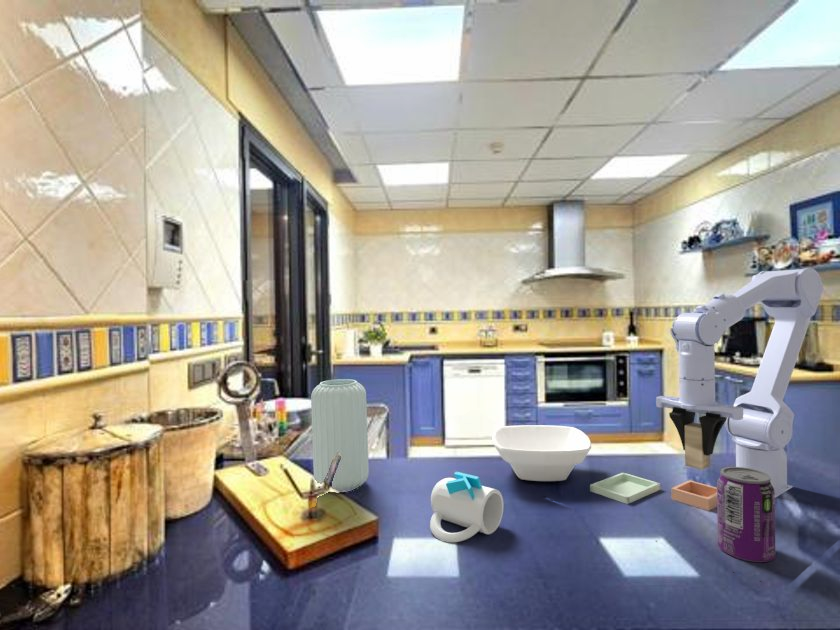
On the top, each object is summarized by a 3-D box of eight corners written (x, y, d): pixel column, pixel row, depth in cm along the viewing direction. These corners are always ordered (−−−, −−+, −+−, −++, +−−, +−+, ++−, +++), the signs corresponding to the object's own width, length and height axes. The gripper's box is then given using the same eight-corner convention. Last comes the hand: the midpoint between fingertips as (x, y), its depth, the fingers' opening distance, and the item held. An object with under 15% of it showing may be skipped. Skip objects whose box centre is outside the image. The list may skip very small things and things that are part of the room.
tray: (623, 480, 103) (622, 472, 103) (660, 492, 96) (660, 483, 96) (590, 493, 96) (589, 484, 96) (627, 507, 90) (627, 497, 90)
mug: (438, 457, 90) (494, 471, 82) (451, 496, 93) (507, 512, 85) (399, 502, 82) (457, 522, 74) (415, 543, 85) (472, 566, 77)
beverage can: (785, 569, 68) (784, 483, 68) (729, 565, 70) (728, 481, 70) (761, 544, 75) (760, 466, 75) (710, 541, 77) (709, 464, 76)
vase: (315, 500, 98) (311, 388, 97) (313, 480, 109) (310, 379, 108) (372, 493, 100) (369, 384, 100) (365, 474, 111) (362, 376, 111)
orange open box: (689, 493, 95) (689, 480, 95) (726, 504, 90) (726, 490, 90) (671, 502, 92) (671, 488, 91) (708, 514, 86) (708, 499, 86)
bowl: (492, 459, 119) (491, 424, 119) (580, 461, 116) (580, 425, 116) (493, 493, 99) (492, 450, 98) (600, 495, 96) (599, 451, 96)
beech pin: (693, 462, 93) (692, 422, 92) (710, 466, 90) (709, 425, 90) (685, 465, 91) (684, 425, 91) (702, 469, 88) (701, 428, 88)
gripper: (646, 376, 94) (648, 447, 94) (729, 385, 82) (730, 466, 82) (666, 372, 98) (668, 440, 98) (748, 380, 86) (749, 457, 86)
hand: (697, 451), depth 90 cm, fingers closed on beech pin, 3 cm apart
